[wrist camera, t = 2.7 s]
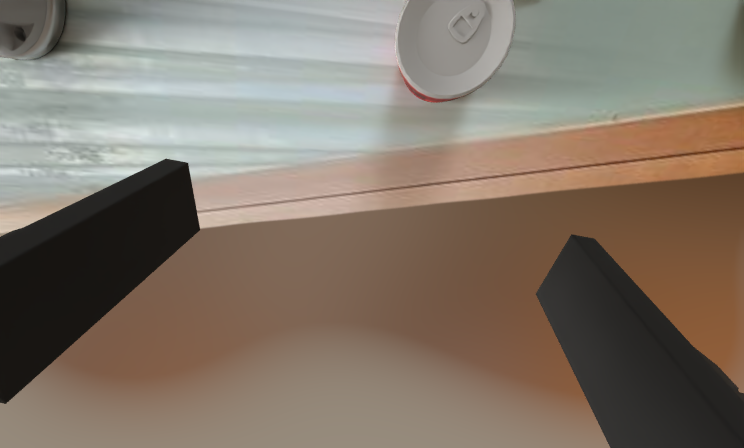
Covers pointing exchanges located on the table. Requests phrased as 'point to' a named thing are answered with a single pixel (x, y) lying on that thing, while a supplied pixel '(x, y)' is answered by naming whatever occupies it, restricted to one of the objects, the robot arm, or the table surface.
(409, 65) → the canned food
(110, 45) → the table surface
